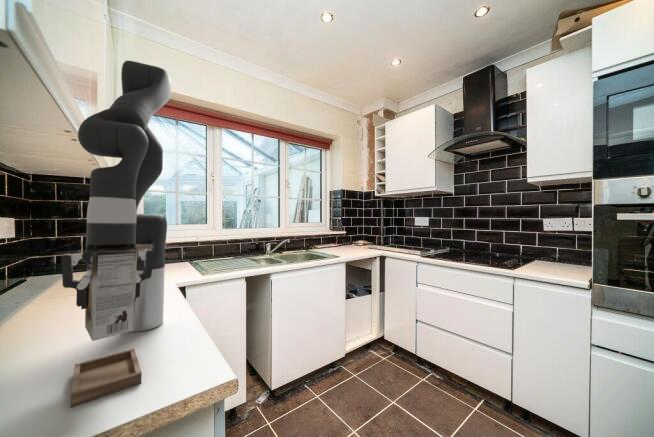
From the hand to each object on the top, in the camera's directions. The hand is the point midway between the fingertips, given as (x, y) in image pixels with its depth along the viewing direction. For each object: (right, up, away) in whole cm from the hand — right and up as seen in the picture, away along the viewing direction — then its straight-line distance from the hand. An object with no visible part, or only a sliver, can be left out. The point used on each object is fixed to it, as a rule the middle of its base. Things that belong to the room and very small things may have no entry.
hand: (110, 303), depth 50 cm
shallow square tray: (0, -15, 0) cm, 15 cm away
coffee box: (0, -5, 0) cm, 5 cm away
